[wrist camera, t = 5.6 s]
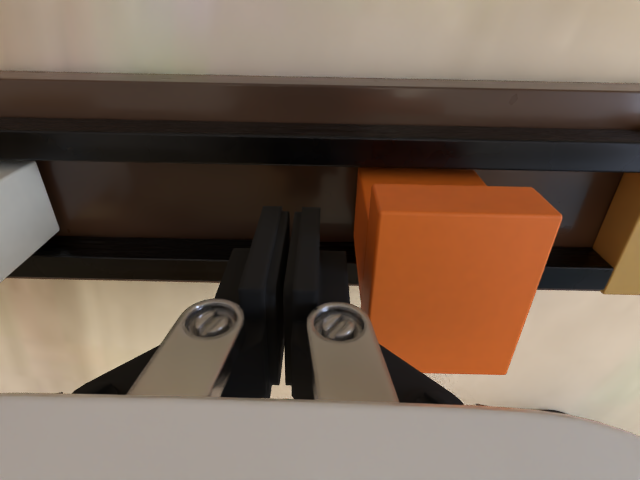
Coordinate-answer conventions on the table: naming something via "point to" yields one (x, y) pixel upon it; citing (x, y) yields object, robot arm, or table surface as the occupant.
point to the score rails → (336, 151)
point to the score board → (295, 181)
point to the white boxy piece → (22, 214)
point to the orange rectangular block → (449, 265)
